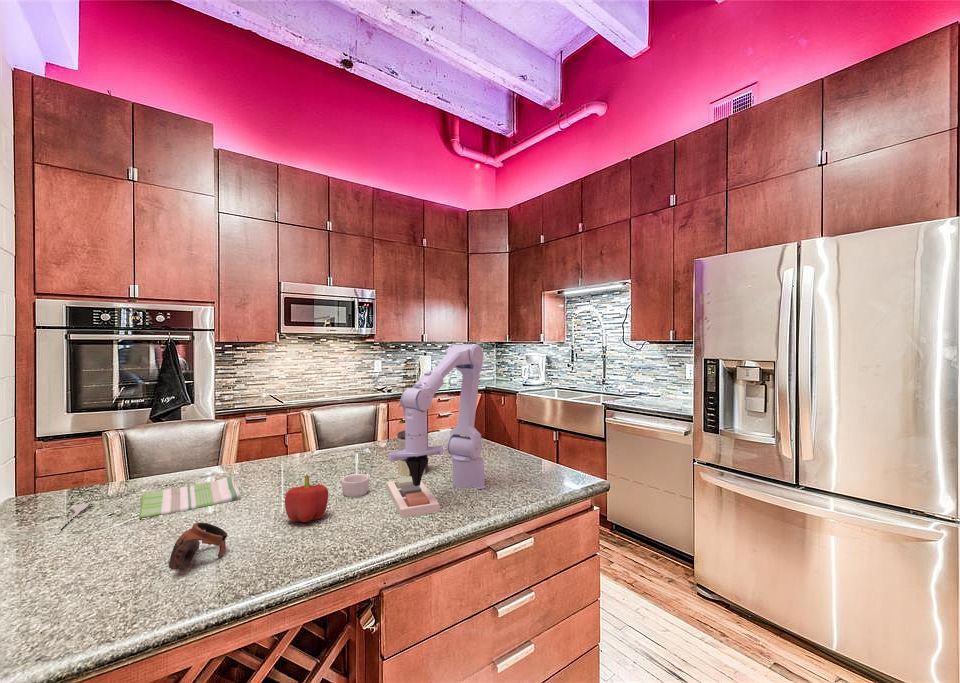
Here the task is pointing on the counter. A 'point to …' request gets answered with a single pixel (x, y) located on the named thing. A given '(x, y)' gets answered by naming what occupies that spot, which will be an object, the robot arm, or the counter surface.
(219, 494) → the dish towel
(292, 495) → the vegetable
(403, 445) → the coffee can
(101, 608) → the counter surface
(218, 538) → the brown curved piece
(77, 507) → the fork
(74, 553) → the counter surface
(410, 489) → the key charcoal
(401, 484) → the key sage
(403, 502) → the pink tray
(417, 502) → the key terracotta
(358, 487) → the teacup
